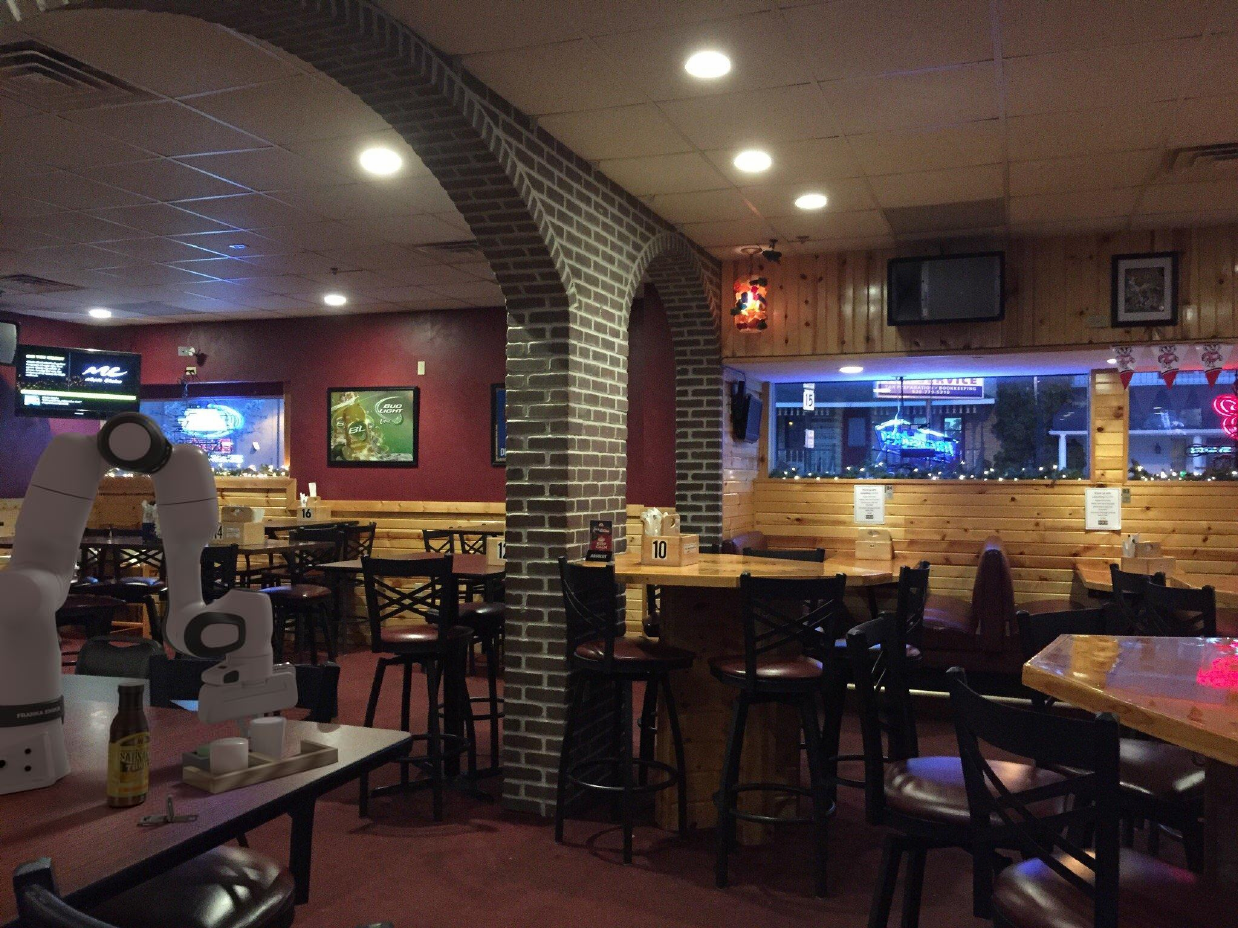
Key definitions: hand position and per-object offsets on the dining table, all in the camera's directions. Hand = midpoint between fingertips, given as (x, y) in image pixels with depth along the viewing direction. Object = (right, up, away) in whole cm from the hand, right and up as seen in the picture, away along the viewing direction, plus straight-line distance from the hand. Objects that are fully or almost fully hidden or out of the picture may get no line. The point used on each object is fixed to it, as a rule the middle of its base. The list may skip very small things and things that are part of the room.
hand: (249, 737), depth 200 cm
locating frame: (+8, -2, -15) cm, 17 cm away
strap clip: (+3, -2, -42) cm, 42 cm away
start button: (-2, -1, -14) cm, 14 cm away
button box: (-2, -2, -14) cm, 14 cm away
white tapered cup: (+5, -3, -4) cm, 7 cm away
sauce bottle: (-8, -2, -33) cm, 34 cm away
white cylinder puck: (+4, -2, -21) cm, 21 cm away
